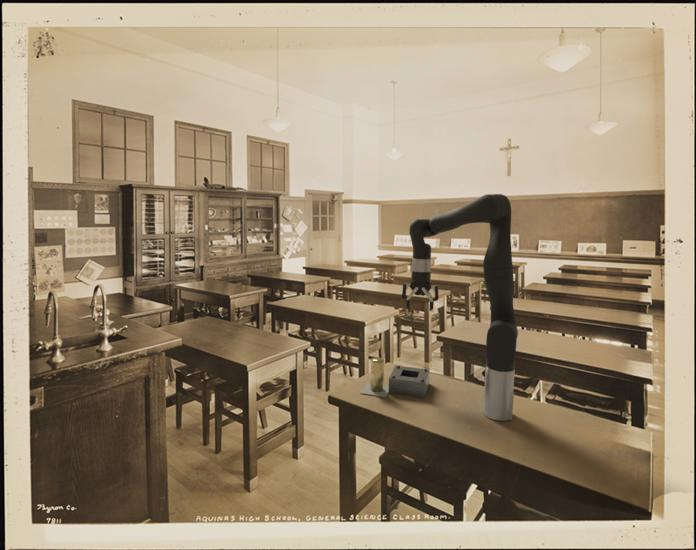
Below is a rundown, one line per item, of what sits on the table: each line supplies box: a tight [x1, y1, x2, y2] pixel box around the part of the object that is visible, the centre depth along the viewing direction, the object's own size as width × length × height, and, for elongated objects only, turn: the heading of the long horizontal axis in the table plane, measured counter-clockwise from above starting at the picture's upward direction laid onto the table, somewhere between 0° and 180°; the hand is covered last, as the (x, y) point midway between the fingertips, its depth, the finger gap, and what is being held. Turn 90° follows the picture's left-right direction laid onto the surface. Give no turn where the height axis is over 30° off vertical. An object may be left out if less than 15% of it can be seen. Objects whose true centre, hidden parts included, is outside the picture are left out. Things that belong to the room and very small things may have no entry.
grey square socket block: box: [388, 365, 431, 399], centre depth 161 cm, size 14×14×7 cm
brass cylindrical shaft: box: [370, 357, 385, 392], centre depth 158 cm, size 5×5×12 cm
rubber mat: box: [360, 382, 390, 398], centre depth 159 cm, size 10×10×1 cm
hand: (419, 309), depth 164 cm, fingers open, 8 cm apart
